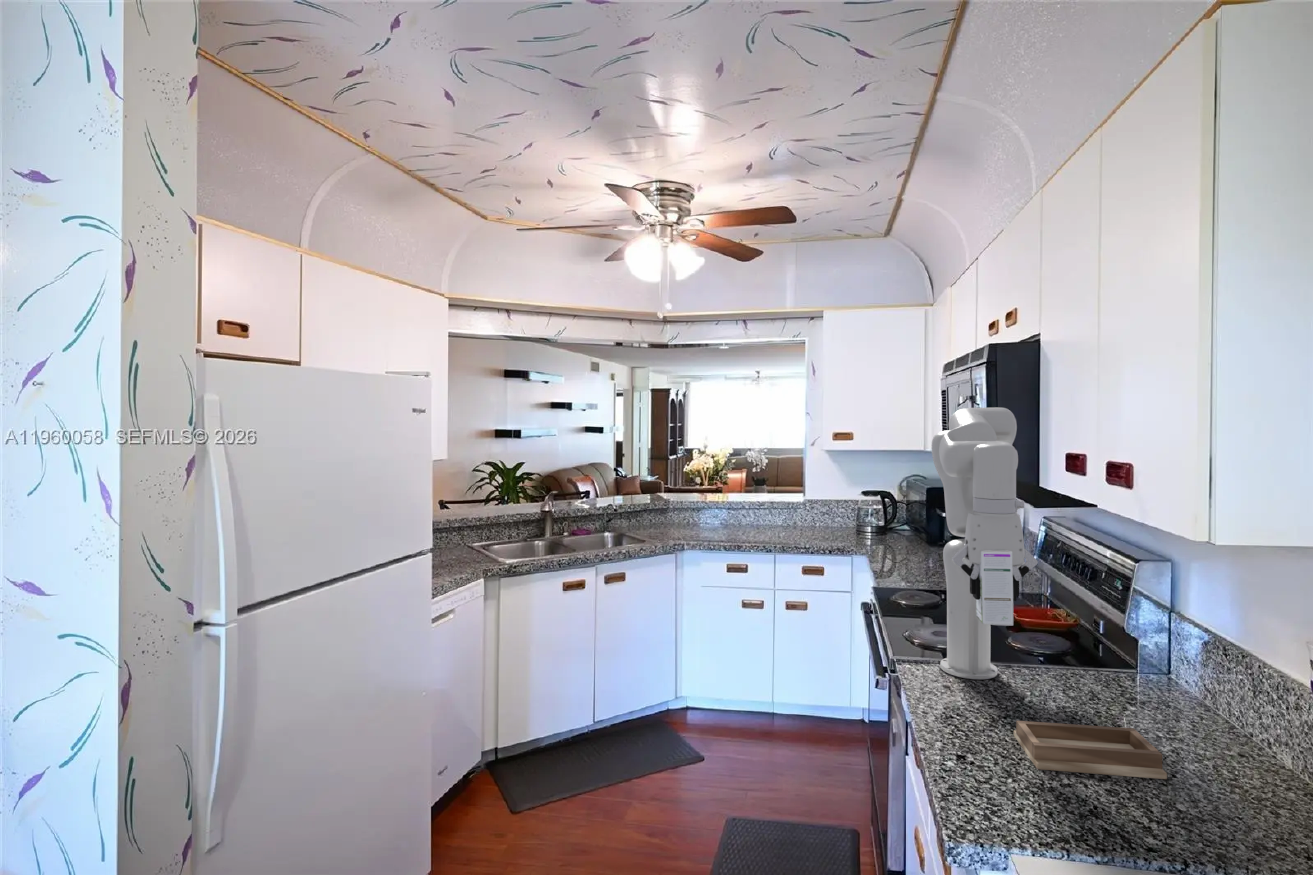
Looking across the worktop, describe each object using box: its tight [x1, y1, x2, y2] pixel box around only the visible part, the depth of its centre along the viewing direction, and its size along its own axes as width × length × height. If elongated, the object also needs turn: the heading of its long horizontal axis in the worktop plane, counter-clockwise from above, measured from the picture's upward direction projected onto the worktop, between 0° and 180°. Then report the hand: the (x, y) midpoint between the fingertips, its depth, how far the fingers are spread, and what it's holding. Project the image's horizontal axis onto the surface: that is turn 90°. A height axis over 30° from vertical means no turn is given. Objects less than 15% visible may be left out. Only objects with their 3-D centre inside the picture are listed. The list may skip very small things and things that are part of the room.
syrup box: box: [976, 550, 1014, 627], centre depth 136 cm, size 6×6×14 cm
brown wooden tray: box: [1013, 720, 1168, 780], centre depth 125 cm, size 13×20×4 cm, turn 79°
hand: (994, 597), depth 136 cm, fingers closed on syrup box, 5 cm apart
